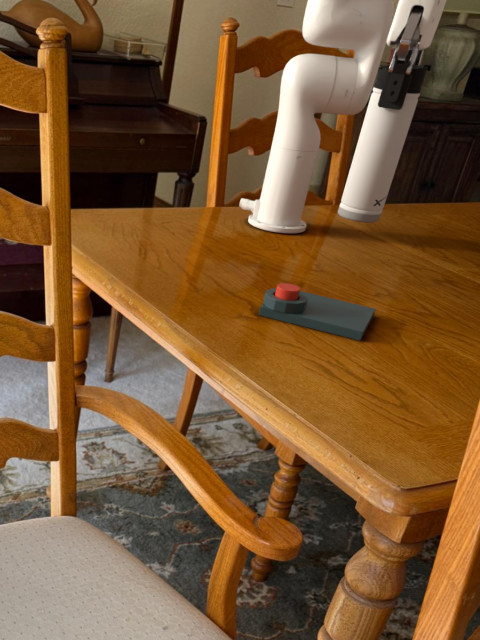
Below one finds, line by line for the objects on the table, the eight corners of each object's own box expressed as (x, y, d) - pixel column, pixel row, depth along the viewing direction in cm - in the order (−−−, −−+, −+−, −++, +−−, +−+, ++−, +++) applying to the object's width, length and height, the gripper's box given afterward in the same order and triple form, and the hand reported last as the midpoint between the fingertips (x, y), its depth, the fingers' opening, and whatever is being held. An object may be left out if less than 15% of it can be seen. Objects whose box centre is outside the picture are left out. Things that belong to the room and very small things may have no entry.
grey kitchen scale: (256, 315, 114) (261, 296, 113) (276, 293, 123) (281, 276, 121) (359, 341, 109) (366, 322, 107) (373, 317, 118) (379, 299, 116)
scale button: (271, 298, 113) (274, 287, 112) (277, 292, 116) (280, 281, 115) (294, 304, 112) (297, 292, 111) (299, 297, 115) (302, 286, 114)
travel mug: (384, 225, 107) (436, 66, 95) (338, 219, 108) (384, 60, 96) (378, 215, 112) (427, 62, 100) (335, 209, 113) (378, 57, 101)
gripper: (419, -57, 97) (375, 97, 108) (403, -68, 85) (354, 107, 96) (478, -53, 95) (427, 104, 106) (470, -63, 83) (413, 116, 94)
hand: (393, 104), depth 101 cm, fingers closed on travel mug, 6 cm apart
